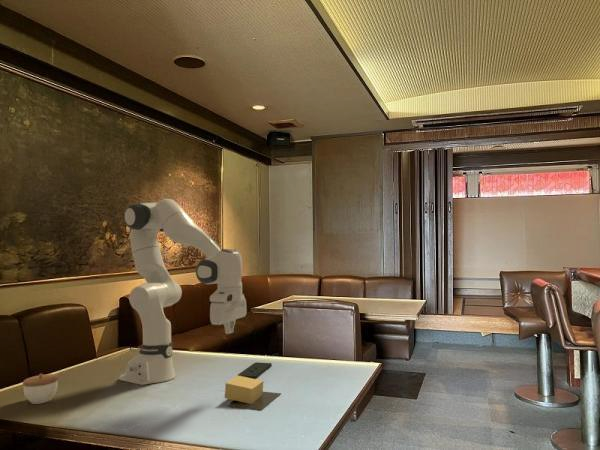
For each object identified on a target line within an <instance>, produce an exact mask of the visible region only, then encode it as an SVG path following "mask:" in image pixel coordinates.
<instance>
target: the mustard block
mask: <svg viewBox="0 0 600 450" xmlns="http://www.w3.org/2000/svg"><path fill="white" fill-rule="evenodd" d="M224 386H225V388H224V399H227V400H236V401H240V402H244V403H249V404H252V403H253V402H254V401H256V400H257V399H258V398H259V397H261V396H262V394H263V392H264V380H262V379H258V378H256V379H252V378H247V377H242V376H238V375H237V376H236V377H233V378H232V379H230V380H228V381H227V382H225V385H224Z"/></svg>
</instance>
